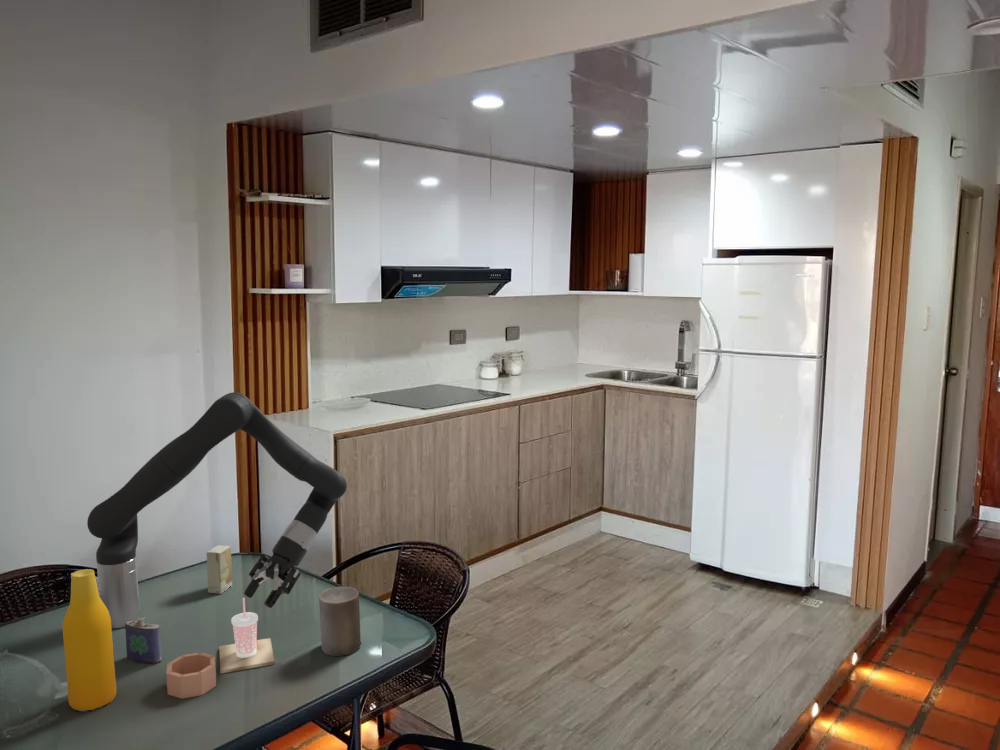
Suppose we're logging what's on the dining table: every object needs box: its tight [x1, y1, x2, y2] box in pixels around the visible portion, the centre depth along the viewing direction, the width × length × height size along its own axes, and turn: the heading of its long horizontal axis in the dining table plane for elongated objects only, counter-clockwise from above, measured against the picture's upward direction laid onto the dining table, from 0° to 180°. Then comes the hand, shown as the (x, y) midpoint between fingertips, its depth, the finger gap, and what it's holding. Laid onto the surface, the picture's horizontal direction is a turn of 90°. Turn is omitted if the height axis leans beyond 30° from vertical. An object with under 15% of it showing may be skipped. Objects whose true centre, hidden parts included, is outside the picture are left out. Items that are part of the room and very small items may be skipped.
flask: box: [124, 616, 162, 665], centre depth 184 cm, size 9×3×11 cm, turn 74°
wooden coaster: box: [219, 637, 275, 674], centre depth 186 cm, size 12×12×1 cm
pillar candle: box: [318, 586, 362, 657], centre depth 190 cm, size 10×10×15 cm
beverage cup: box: [230, 597, 259, 658], centre depth 186 cm, size 6×6×14 cm
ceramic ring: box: [165, 651, 217, 699], centre depth 174 cm, size 10×10×5 cm
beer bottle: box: [62, 568, 117, 711], centre depth 166 cm, size 9×9×29 cm
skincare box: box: [206, 544, 233, 595], centre depth 224 cm, size 6×4×12 cm
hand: (257, 601), depth 187 cm, fingers open, 8 cm apart
